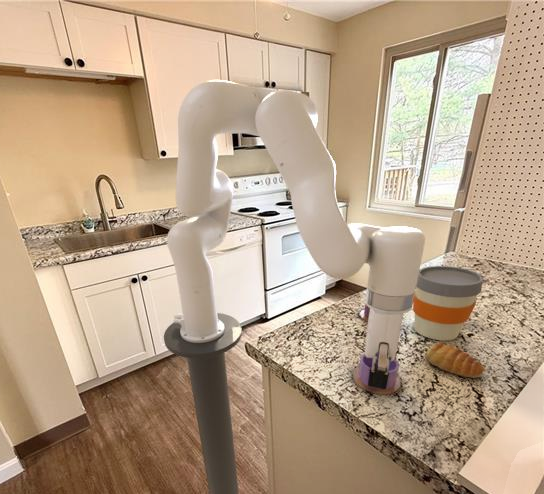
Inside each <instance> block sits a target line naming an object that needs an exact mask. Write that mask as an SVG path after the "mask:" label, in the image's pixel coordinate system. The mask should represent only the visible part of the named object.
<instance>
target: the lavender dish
mask: <svg viewBox="0 0 544 494" xmlns="http://www.w3.org/2000/svg"><path fill="white" fill-rule="evenodd" d="M376 356H379V353H376ZM372 360H373V358H367V357H366V356H365V353H363V354H362V355H361V356H360V359H359V366H358V367H359V374H358V376H359V379H360V380H361V381H362V382H363V383H364V384H365V385H367V386H368V378H369V372H370V368H371V369H372ZM376 365H378V360H376V364H375V366H376ZM399 368H400V365H399V362H398V360H397V359H396V358H394V360H393V361H391V362H390V361H389V370H388V372H389V376H388V381H387V387H386V389H390V388H392V387H393V386H394V385H395V383H396V379H397V376H398V374H399ZM369 387H370V386H369ZM372 388H375V387H372ZM375 389H380V388H375Z"/></svg>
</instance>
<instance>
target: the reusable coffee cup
mask: <svg viewBox="0 0 544 494" xmlns="http://www.w3.org/2000/svg"><path fill="white" fill-rule="evenodd" d="M483 282H484V277H483V276H482V275H481V274H480V273H478V272H476V271H473V270H470V269H468V268H463V267H456V266H448V265H432V266H431V265H430V266H425V267H422V268H420V270H419V275H418V280H417V285H416V290H415V296H414V301H413V306H412V311H413V313H414V327H413V328H414V330H415V331H416V333H418V334H419V335H421V336H422V337H425V338H427V339H431V340H436V341H453V340H455V339H457V338H458V336H459V334H460V333H461V330H462V329H463V326H464V324H465V323H466V322H467V321H468V320H469V319H470V316H471V315H472V313H473V310H474V308H475V306H476V305H477V300H476V299H477V297H478V296H479V294H481V292H482V289H483Z"/></svg>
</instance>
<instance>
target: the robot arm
mask: <svg viewBox="0 0 544 494" xmlns="http://www.w3.org/2000/svg"><path fill="white" fill-rule="evenodd" d="M317 123H318V110H317V106H316V104H315V102H314V100H313V99H312V98H311V97H310V96H308V95H306V94H305V93H301V92H297V91H292V90H288V89H284V90H283V89H282V90H281V89H280V90H273V89H268V88H262V87H257V86H252V85H247V84H242V83H237V82H233V81H229V80H222V79H212V80H205V81H203V82H201V83H199V84H197V85H195V86H194V87H192V88H191V89H190V90H189V91H188V92H187V93H186V95H185V96H184V98H183V100H182V102H181V105H180V107H179V111H178V118H177V137H178V138H177V139H178V149H177V151H178V152H177V153H178V154H177V162H176V163H177V164H176V183H175V204H176V207H177V210H178V211H179V212H180V213H181V214H182V215H184V216H186V217H189V218H186V219H184V220H181V221H179V222H177V223H175V224H174V225H173V226H172V227H171V228H170V229H169V231H168V233H167V236H166V244H167V248H168V251H169V253H170V256H171V259H172V262H173V265H174V269H175V274H176V280H177V285H178V292H179V298H180V305H181V311H182V313H178V312H175V314H174V317H173V318H174V319H173V323H176V324H181V325H182V327H181V329H180V333H181V336H182V338H183V339H184V340H186V341H189V342H193V343H204V342H209V341H212V340H215V339H217V338H218V337H220V336H221V335H222V334H223V332H224V324H223V323H222V321H220V320H218V315H217V313H218V307H217V298H216V288H215V287H216V286H215V278H214V272H213V268H212V266H211V263H210V261H209V260H208V257H207V254H208V253H209V251H212V250H214V249H215V248H217V247H219V246H220V245H222V244H223V243H224V241H225V240H226V237H227V234H228V229H229V223H230V218H231V211H232V205H233V199H234V188H233V184H232V181H231V179H230V177H229V176H228V174H226V173H225V172H224V170H221V169H218V168H217V164H218V160H219V159H218V157H219V153H218V152H219V150H218V145H217V140H216V136H217V135H221V134H231V135H232V134H244V135H251V136H256V137H259V138H260V140H261V141H262V144H263V146H264V147H265V149H266V151H267V152H268V155H269V156H270V158H271V159H272V161H273V164H274V165H275V167H276V169H277V170H278V172H279V175H280V176H281V177H282V180H283V182H284V184H285V186H286V188H287V189H288V191H289V194H290V200H291V206H292V210H293V215H294V219H295V223H296V226H297V230H298V232H299V235H300V238H301V239H302V242H303V243H304V245H305V247H306V249H307V250H308V252H309V255H310V256H311V258H312V259H313V262H314V263H315V264H316V265H317V267H318V269H320V270H321V272H322V273H324V274H325V275H326V276H329V277H330V278H333V279H338V280H339V279H340V280H342V279H348V278H351V277H352V276H354V275H356V274H357V273H358V272H360V270H361V269H362V268H363V266H364V265H365V264H368V266H369V270H368V277H367V283H366V284H367V285H366V292H365V293H366V294H365V301H364V304H365V303H366V305H367V306H368V307H369V308H370V312H369V319H368V322H367V325H366V326H367V327H366V335H365V344H364V354H365V356H366V357H367V358H373V360H372V369H371V368H370V372H369V378H368V386H370V387H375V388H380V389H386V387H387V381H388V376H389V372H388V370H389V361H390V362H391V361H393V360H394V359H396V355H397V350H398V345H399V341H400V335H401V329H402V324H403V320H404V319H403V318H404V314H405V313H408V312H410V311H411V310H413V301H414V296H415V291H416V285H417V280H418V275H419V270H420V269H421V264H422V259H423V254H424V250H425V244H426V236H425V234H424V233H423V231H421V230H420V229H417V228H413V227H408V226H389V227H383V226H382V227H381V226H374V225H370V224H364V223H355V222H354V223H348V224H347V221H346V220H345V218H344V216H343V213H342V211H341V209H340V205H339V202H338V199H337V194H336V175H337V170H336V163H335V161H334V160H333V158H332V155H330V152H329V150H328V149H327V147H326V145H325V143H324V140H323V139H322V137H321V135H320V134H319V132H318V130H317V128H316V127H317ZM376 353H379V356H376ZM376 360H378V365H376V366H375V364H376Z"/></svg>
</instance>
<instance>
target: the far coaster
mask: <svg viewBox="0 0 544 494" xmlns="http://www.w3.org/2000/svg"><path fill="white" fill-rule="evenodd" d="M364 310H365V308H364V309H362V310H361V311H360V312H359V317H360V319H362V320H363V321H364V322H367V323H368V318H367V317H365V315H364Z"/></svg>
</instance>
